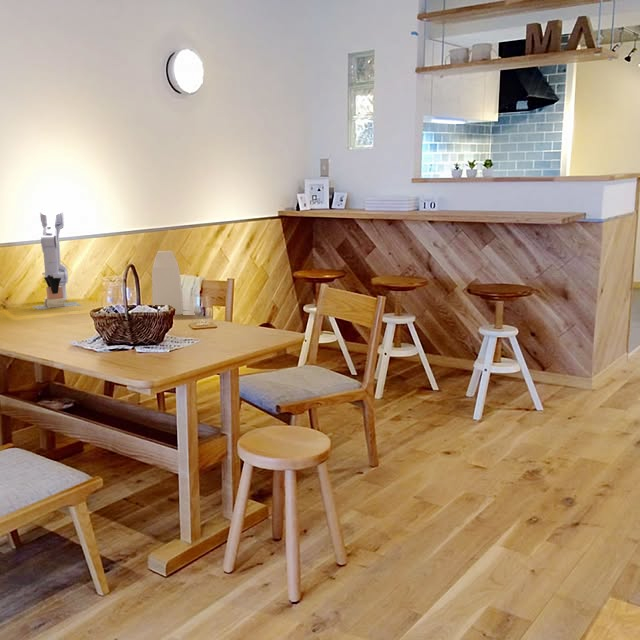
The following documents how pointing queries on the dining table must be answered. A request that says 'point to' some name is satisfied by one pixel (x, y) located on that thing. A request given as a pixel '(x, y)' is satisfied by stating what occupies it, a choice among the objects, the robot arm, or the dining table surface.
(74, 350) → the dining table surface
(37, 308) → the baseplate
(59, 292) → the terracotta brick
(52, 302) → the birch block
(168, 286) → the milk
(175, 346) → the dining table surface
